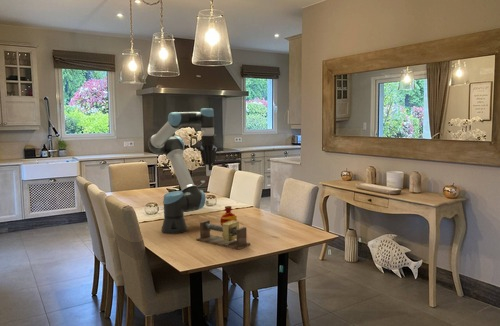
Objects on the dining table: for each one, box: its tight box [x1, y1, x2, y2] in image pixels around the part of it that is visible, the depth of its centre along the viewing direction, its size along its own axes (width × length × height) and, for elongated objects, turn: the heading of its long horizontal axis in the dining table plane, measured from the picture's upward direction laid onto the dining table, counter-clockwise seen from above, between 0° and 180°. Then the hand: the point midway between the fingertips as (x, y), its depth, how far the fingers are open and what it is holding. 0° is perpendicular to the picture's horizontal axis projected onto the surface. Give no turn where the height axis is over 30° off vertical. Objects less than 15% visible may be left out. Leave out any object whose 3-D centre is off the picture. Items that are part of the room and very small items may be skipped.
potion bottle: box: [219, 205, 238, 226], centre depth 242 cm, size 10×10×15 cm
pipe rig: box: [196, 219, 251, 251], centre depth 220 cm, size 30×10×10 cm, turn 54°
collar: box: [222, 220, 240, 242], centre depth 217 cm, size 4×9×9 cm, turn 144°
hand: (208, 175), depth 236 cm, fingers closed
